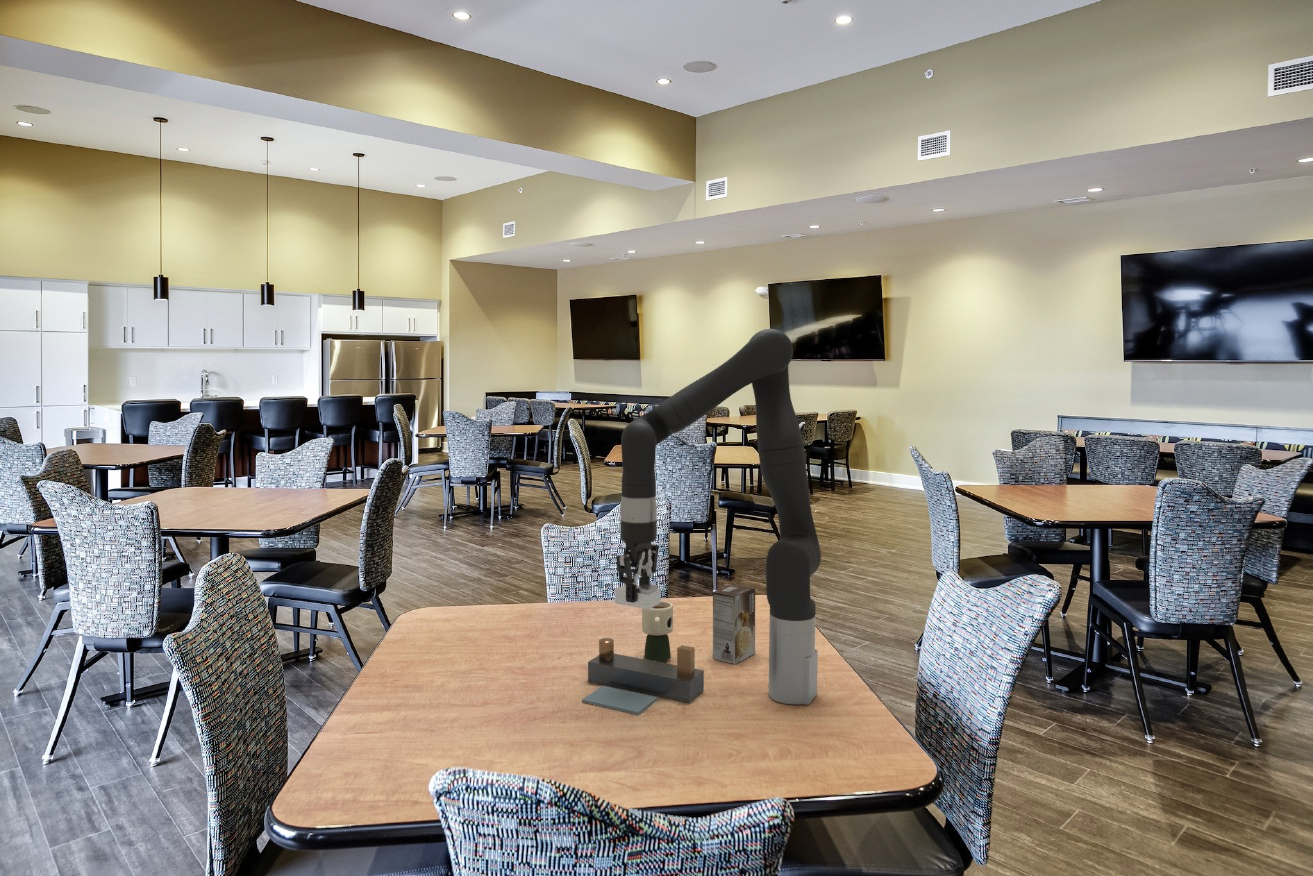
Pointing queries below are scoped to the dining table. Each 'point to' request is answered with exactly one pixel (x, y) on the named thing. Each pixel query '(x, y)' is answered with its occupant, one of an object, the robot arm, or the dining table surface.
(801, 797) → the dining table surface
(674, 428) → the robot arm
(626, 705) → the mat
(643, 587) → the lever cap
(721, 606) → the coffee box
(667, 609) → the character mug
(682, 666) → the dark grey post stand
